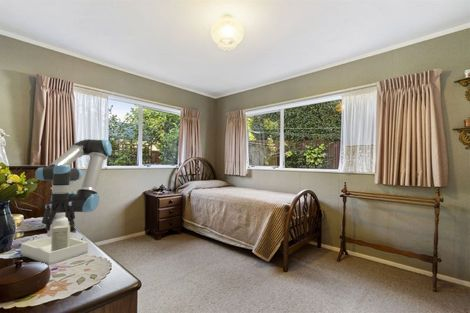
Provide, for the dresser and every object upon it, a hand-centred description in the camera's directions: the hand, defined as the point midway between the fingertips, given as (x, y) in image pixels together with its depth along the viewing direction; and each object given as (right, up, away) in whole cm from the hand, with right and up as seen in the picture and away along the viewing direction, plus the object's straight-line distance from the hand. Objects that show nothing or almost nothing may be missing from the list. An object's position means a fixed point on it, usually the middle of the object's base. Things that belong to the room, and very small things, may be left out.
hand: (58, 234), depth 128 cm
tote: (+12, -3, -18) cm, 22 cm away
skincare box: (+16, -2, -20) cm, 26 cm away
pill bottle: (0, -3, 0) cm, 3 cm away
